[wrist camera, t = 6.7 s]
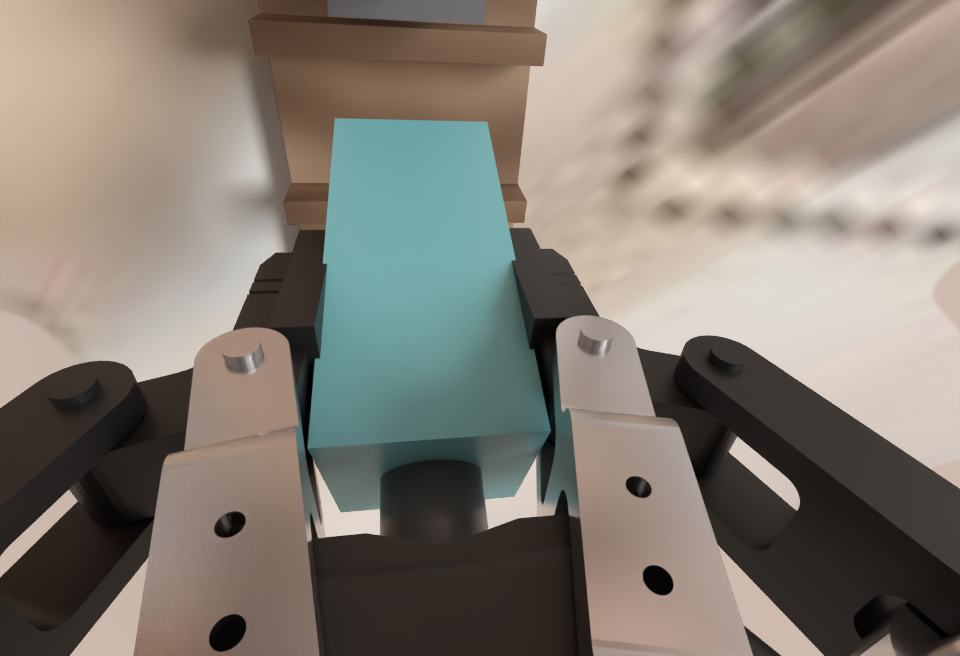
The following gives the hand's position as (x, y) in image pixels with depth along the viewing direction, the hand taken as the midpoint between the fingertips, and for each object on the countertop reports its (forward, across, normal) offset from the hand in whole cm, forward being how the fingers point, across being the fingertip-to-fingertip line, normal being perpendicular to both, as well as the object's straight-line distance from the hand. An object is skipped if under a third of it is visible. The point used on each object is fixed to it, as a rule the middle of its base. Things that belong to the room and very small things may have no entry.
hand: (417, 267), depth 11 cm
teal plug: (+3, 0, -1) cm, 3 cm away
